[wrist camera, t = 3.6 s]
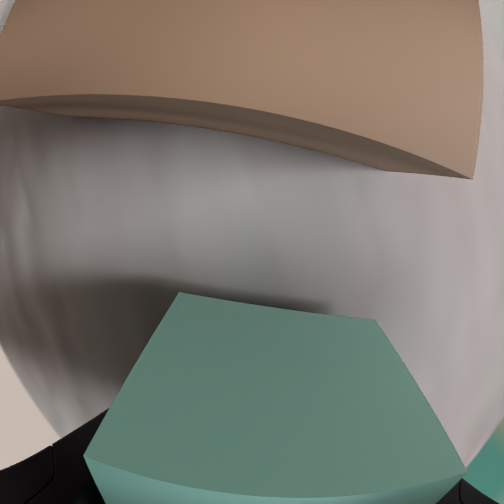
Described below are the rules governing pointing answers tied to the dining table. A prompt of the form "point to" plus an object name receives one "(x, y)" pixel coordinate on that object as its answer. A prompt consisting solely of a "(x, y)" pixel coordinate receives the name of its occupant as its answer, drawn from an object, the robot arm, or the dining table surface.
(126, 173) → the dining table surface
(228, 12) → the walnut block
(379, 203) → the dining table surface
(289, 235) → the dining table surface
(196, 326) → the teal cube
